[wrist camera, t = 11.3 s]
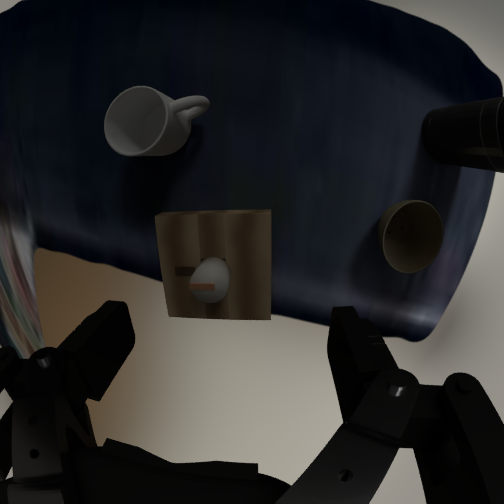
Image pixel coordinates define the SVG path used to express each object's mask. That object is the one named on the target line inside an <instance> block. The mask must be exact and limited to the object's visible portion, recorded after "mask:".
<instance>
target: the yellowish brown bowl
mask: <svg viewBox="0 0 504 504" xmlns="http://www.w3.org/2000/svg"><path fill="white" fill-rule="evenodd" d="M402 226H403V227H402ZM389 232H390V233H389ZM443 235H444V229H443V223H442V219H441V216H440V214H439V213H438V211H437V210H436V209H435V208H434V207H433V206H432V205H431V204H429V203H427V202H425V201H420V200H406V201H402V202H399V203H396V204H394V205H392V206H391V207H389V208H388V209H387V210H386V211H385V212H384V213H383V215H382V216H381V219H380V221H379V225H378V240H379V245H380V248H381V251H382V253H383V255H384V257H385V259H386V260H387V262H388V263H389V265H390V266H391V267H392V268H394V269H395V270H397V271H399V272H401V273H406V274H411V273H416V272H419V271H421V270H423V269H425V268H426V267H427V266H429V265H430V264H431V263H432V262H433V261H434V259H435V258H436V256H437V255H438V253H439V251H440V248H441V246H442V242H443Z"/></svg>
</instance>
